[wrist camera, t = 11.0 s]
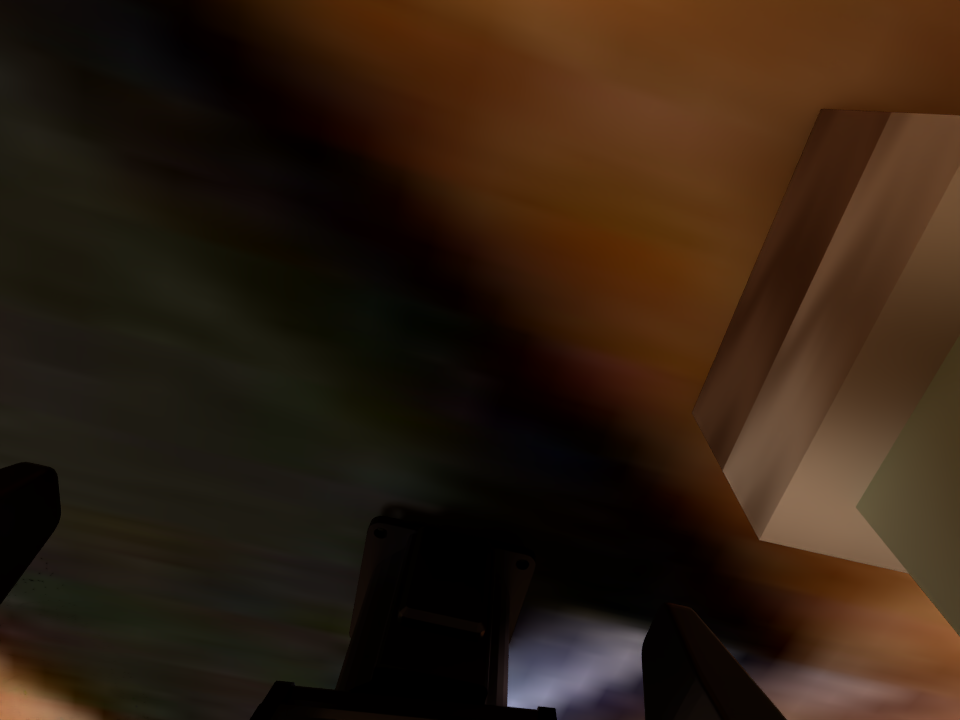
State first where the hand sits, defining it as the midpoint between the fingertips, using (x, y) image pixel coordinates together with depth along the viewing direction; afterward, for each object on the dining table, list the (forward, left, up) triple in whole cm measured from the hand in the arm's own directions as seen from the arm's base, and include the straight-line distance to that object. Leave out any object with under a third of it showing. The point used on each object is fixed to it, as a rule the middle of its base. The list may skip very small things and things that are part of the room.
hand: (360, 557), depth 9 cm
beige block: (+3, -13, -12) cm, 18 cm away
